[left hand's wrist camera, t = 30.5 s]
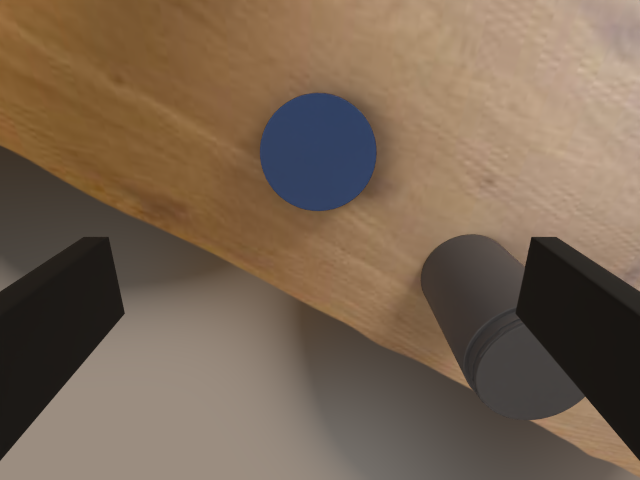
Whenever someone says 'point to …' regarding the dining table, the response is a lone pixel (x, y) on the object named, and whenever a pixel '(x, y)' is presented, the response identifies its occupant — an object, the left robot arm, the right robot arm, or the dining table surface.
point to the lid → (318, 152)
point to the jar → (493, 329)
